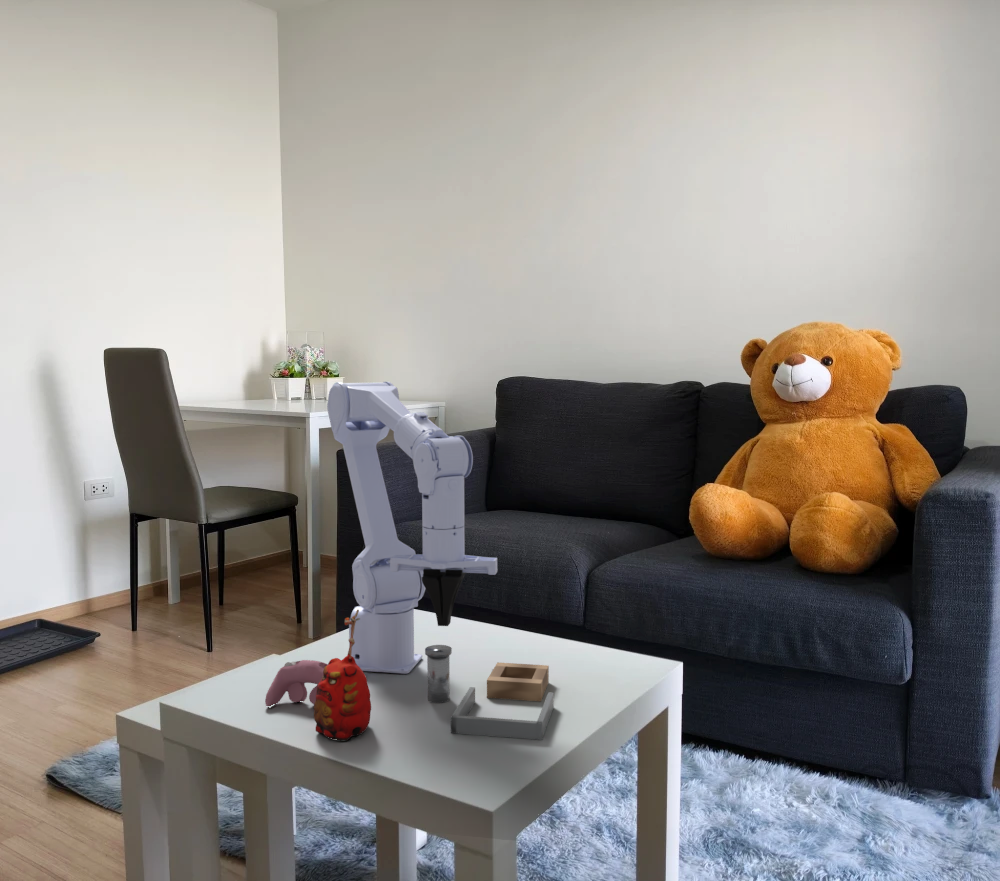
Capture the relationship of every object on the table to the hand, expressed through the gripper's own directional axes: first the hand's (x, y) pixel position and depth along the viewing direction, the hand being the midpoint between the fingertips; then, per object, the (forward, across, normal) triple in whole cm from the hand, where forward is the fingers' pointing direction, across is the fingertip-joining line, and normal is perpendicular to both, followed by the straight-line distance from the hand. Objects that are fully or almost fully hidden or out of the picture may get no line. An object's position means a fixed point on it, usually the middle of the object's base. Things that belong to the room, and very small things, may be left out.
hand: (444, 624), depth 123 cm
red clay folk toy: (+10, -10, -13) cm, 20 cm away
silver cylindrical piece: (+10, -1, -1) cm, 10 cm away
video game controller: (+10, -18, -6) cm, 22 cm away
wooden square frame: (+10, +10, +4) cm, 15 cm away
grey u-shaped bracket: (+10, +9, -7) cm, 15 cm away
